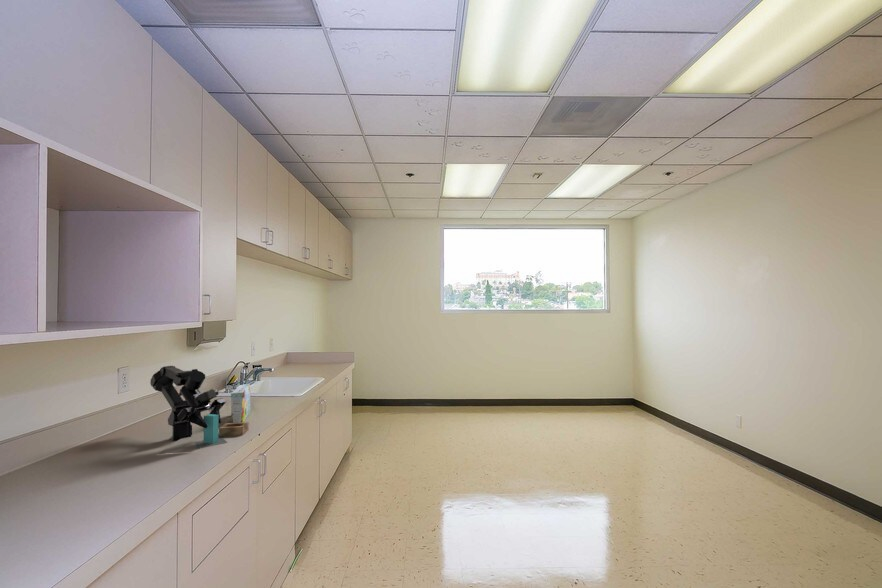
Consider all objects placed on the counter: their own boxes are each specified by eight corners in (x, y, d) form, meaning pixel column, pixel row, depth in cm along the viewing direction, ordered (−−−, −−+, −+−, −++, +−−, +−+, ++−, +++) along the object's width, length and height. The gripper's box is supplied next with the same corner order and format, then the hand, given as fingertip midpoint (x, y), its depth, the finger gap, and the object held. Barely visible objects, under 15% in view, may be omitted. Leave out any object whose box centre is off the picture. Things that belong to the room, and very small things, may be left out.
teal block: (203, 442, 157) (203, 415, 157) (208, 440, 159) (209, 413, 159) (213, 443, 155) (213, 416, 156) (218, 441, 158) (218, 414, 158)
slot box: (218, 437, 164) (219, 428, 164) (225, 432, 171) (225, 423, 171) (242, 436, 166) (242, 426, 166) (248, 431, 173) (248, 422, 173)
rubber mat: (198, 450, 150) (198, 448, 150) (194, 443, 158) (194, 442, 158) (227, 443, 157) (227, 442, 157) (221, 437, 164) (221, 436, 164)
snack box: (239, 413, 203) (239, 384, 204) (250, 412, 205) (251, 383, 206) (230, 424, 183) (230, 392, 184) (243, 423, 185) (243, 391, 185)
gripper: (182, 387, 150) (204, 418, 147) (222, 379, 168) (242, 406, 164) (167, 406, 152) (188, 437, 149) (208, 396, 170) (228, 423, 166)
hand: (213, 425), depth 157 cm, fingers open, 6 cm apart
